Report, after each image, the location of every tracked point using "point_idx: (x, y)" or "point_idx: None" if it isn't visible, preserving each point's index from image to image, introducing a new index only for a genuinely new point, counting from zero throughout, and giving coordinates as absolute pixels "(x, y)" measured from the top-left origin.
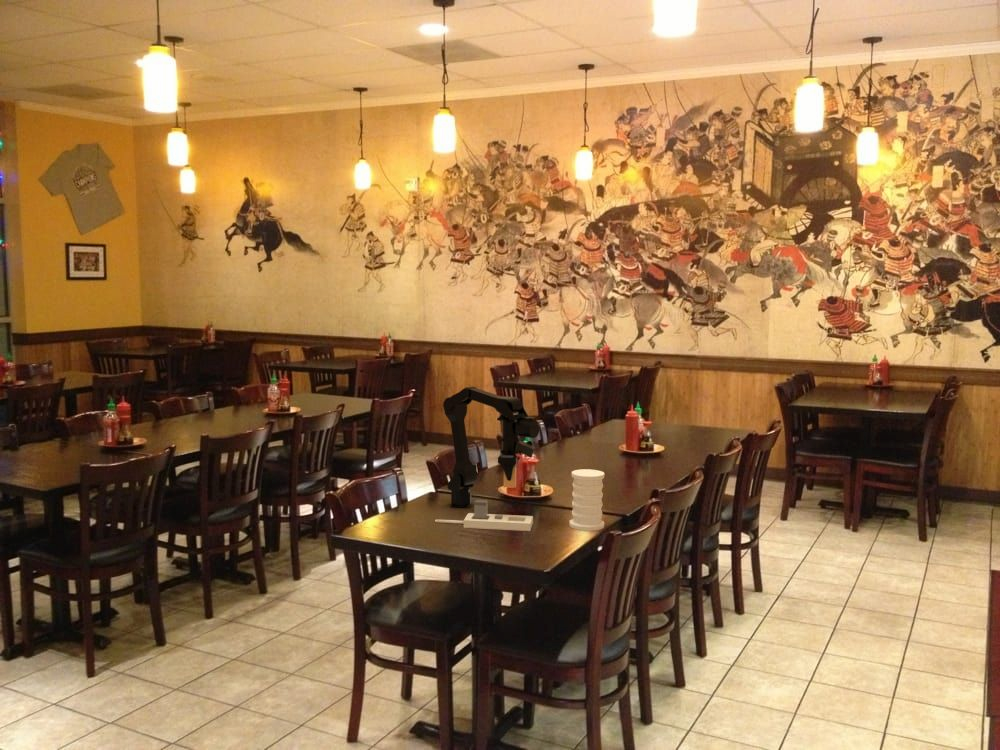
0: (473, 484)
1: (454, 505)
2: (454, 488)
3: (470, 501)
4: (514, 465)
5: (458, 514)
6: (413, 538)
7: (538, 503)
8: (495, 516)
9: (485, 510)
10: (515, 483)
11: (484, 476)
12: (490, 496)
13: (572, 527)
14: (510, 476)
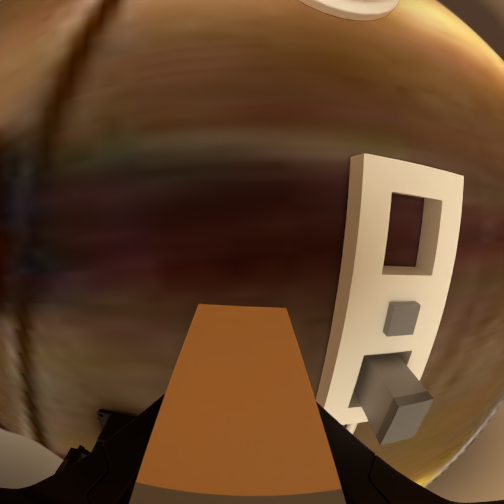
0: (78, 452)
1: None
2: None
3: (124, 423)
4: None
5: None
6: (441, 446)
7: (27, 164)
8: (411, 331)
9: (416, 380)
10: (268, 325)
11: None
12: (9, 343)
13: (379, 17)
14: (329, 424)
